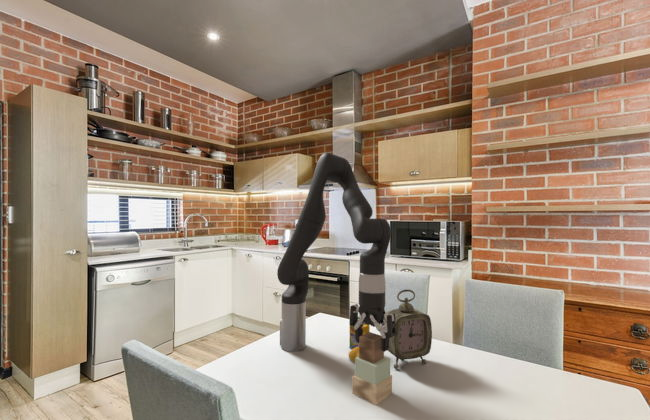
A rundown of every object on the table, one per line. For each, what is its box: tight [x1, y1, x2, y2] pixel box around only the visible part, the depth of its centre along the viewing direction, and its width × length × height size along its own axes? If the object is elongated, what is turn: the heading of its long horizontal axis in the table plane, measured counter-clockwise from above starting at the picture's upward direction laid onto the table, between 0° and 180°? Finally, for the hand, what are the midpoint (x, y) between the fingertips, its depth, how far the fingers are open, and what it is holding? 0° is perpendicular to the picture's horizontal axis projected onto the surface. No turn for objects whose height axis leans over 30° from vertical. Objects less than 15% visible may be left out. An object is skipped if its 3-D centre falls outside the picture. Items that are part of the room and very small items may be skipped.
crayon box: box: [349, 316, 370, 350], centre depth 119 cm, size 7×3×12 cm, turn 49°
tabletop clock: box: [384, 289, 433, 370], centre depth 109 cm, size 14×9×25 cm, turn 109°
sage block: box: [354, 355, 391, 386], centre depth 90 cm, size 7×7×5 cm
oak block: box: [351, 374, 393, 406], centre depth 90 cm, size 8×8×5 cm
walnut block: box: [359, 332, 385, 364], centre depth 90 cm, size 5×5×6 cm
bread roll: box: [348, 347, 359, 364], centre depth 111 cm, size 8×9×4 cm
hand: (371, 346), depth 90 cm, fingers open, 8 cm apart
